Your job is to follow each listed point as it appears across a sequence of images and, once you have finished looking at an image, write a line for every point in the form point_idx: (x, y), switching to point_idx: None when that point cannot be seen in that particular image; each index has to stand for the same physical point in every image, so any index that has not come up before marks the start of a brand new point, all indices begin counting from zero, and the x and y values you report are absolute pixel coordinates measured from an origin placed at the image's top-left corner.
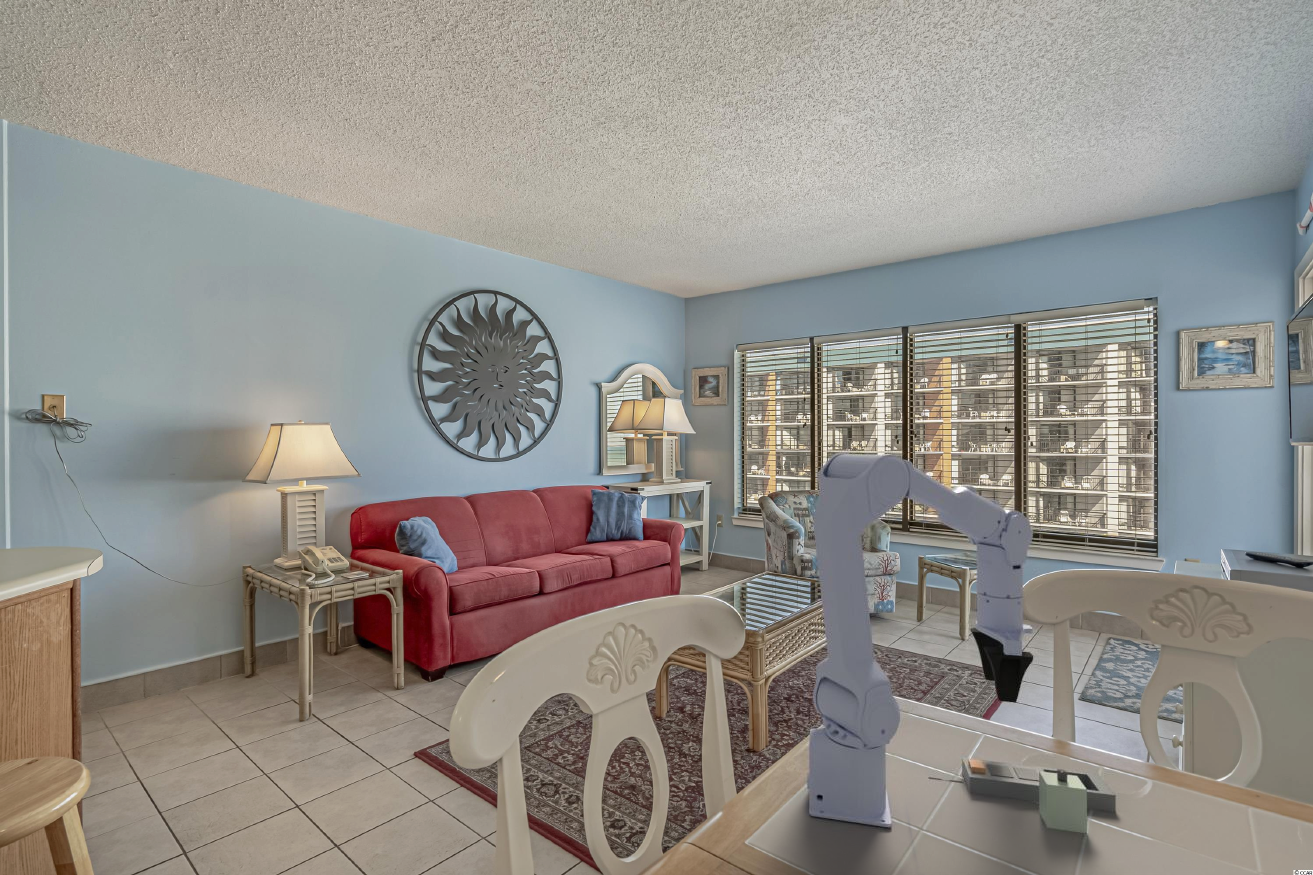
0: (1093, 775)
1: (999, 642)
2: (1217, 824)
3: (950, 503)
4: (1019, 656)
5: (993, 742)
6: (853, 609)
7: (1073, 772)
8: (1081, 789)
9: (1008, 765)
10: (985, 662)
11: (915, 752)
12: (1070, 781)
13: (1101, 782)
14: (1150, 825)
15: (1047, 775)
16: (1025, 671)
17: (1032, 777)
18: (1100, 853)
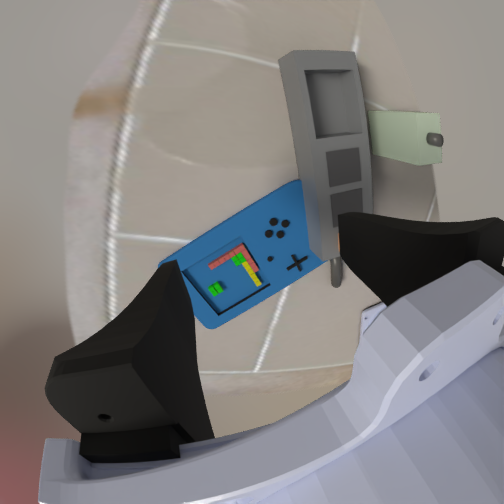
0: (302, 60)
1: (172, 372)
2: None
3: None
4: (500, 268)
5: (139, 215)
6: None
7: (306, 90)
8: (439, 119)
9: (325, 194)
10: (192, 341)
11: (248, 312)
12: (429, 127)
13: (323, 56)
14: (326, 23)
15: (425, 156)
16: (443, 222)
17: (353, 160)
18: (404, 104)
